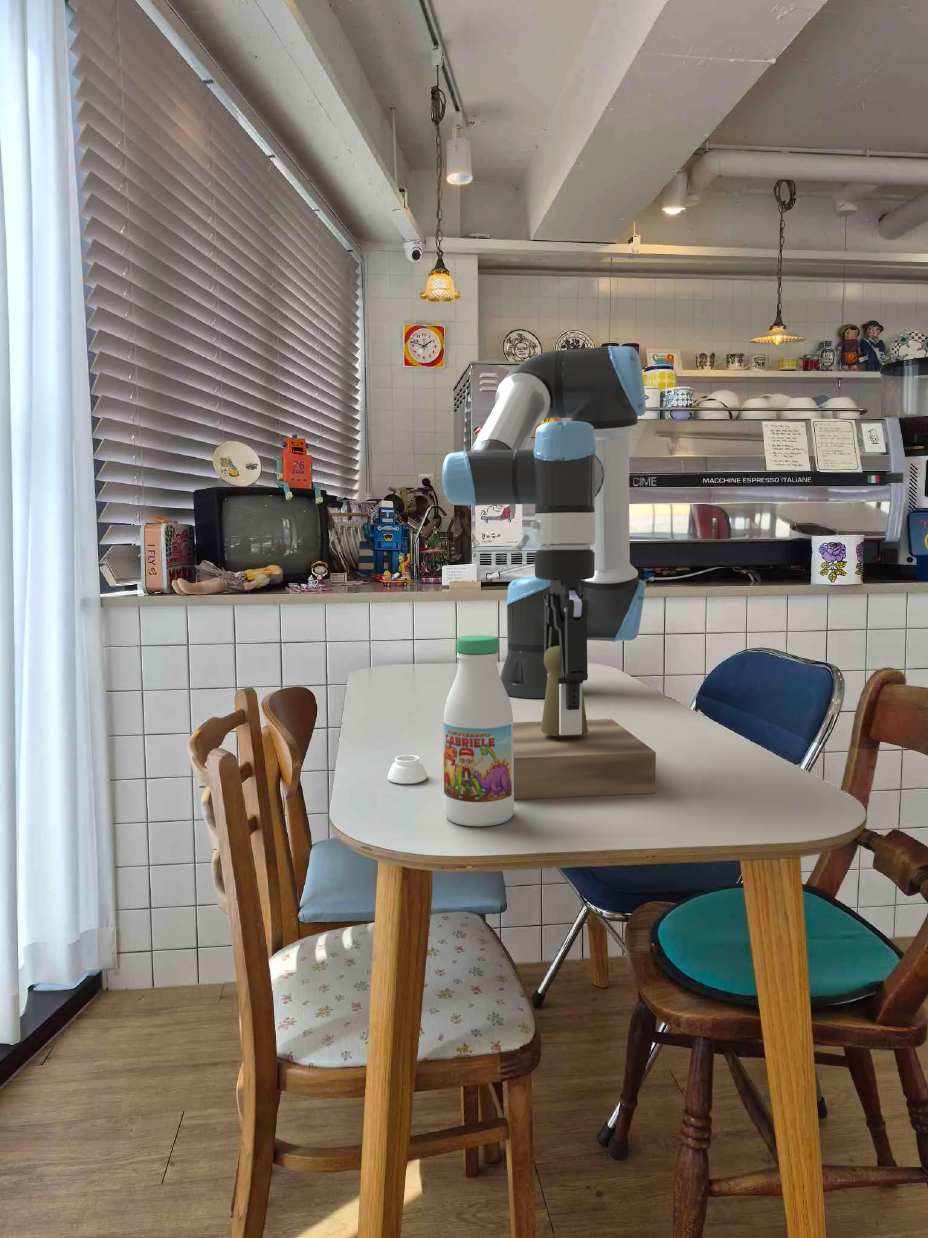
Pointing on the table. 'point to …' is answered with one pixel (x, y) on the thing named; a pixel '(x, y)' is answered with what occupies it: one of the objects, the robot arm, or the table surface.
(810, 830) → the table surface
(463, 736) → the milk bottle
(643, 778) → the walnut riser
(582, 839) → the table surface
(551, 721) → the olive pepper mill
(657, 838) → the table surface
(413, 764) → the white jar
